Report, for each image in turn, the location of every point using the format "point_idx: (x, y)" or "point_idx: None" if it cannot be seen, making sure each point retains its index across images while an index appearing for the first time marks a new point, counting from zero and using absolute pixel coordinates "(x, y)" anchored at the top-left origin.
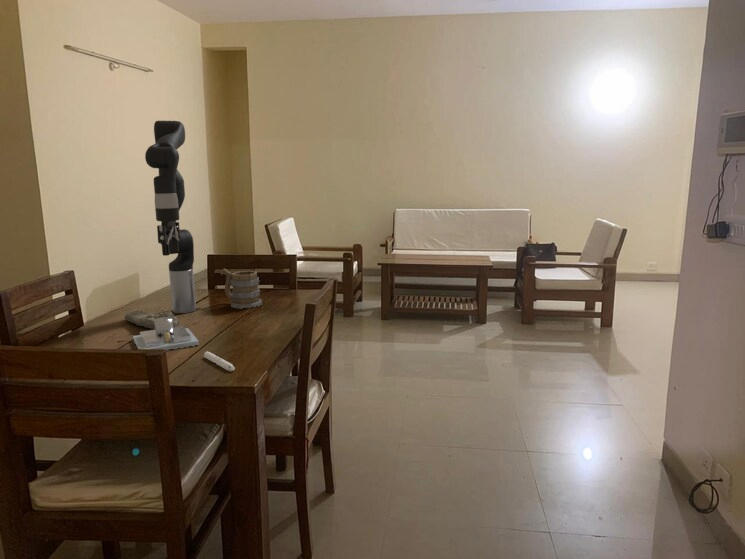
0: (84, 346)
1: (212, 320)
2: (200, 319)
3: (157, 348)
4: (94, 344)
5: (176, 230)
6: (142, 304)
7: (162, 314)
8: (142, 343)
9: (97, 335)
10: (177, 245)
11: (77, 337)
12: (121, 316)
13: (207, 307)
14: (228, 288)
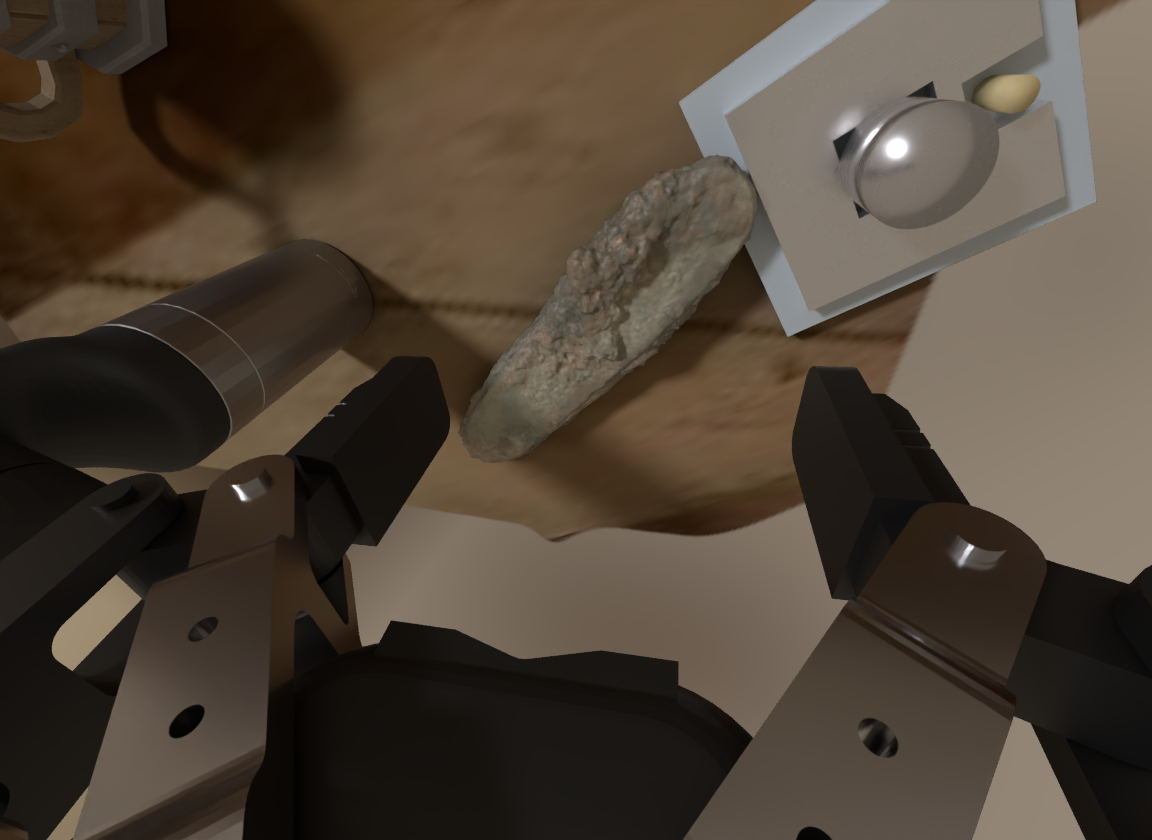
0: None
1: (438, 47)
2: (434, 140)
3: (1082, 114)
4: None
5: (146, 753)
6: None
7: (615, 288)
8: None
9: (690, 468)
10: (377, 409)
11: (707, 510)
12: (459, 476)
13: (233, 201)
14: (13, 109)
